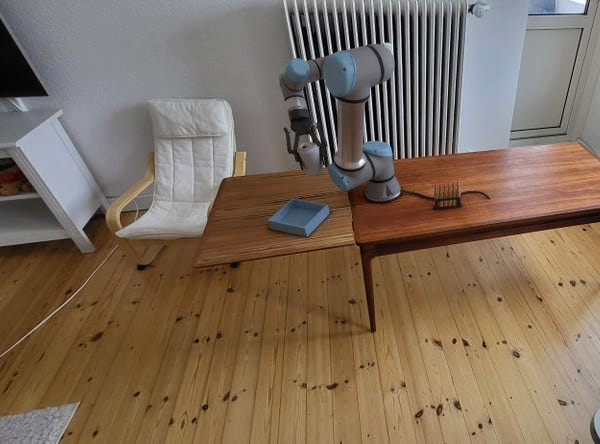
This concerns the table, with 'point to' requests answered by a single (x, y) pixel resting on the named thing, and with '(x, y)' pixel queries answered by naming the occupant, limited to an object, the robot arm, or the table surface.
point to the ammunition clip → (451, 199)
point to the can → (311, 159)
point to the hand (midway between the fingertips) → (313, 166)
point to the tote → (299, 217)
